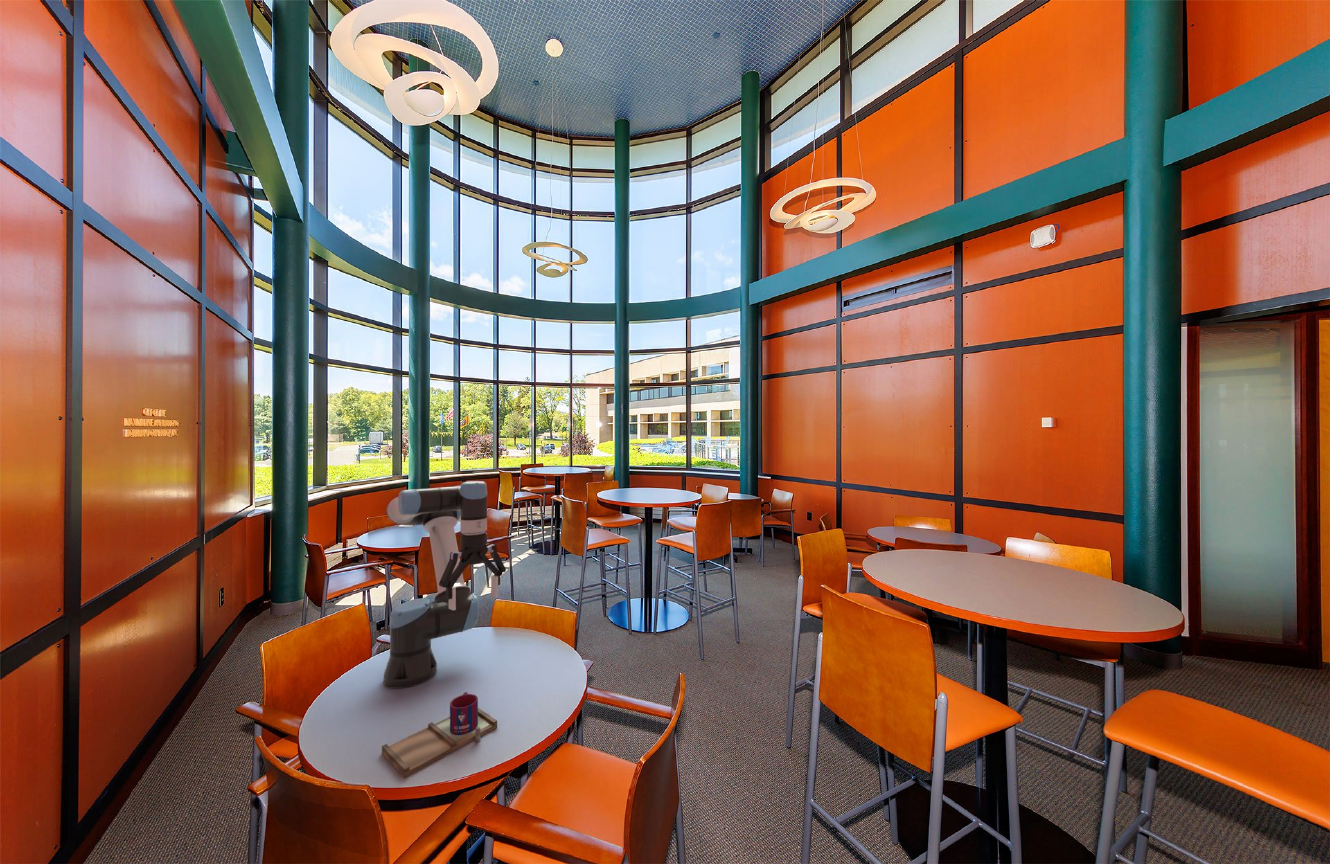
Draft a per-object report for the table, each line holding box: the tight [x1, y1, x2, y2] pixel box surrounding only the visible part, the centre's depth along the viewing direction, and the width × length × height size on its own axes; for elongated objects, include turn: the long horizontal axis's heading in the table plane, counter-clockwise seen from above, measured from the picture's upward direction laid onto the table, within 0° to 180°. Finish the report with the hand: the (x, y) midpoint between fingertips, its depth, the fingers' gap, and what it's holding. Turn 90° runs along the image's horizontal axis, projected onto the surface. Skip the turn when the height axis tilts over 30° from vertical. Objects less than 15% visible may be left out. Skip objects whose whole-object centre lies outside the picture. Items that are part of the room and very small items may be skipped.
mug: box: [449, 691, 479, 735], centre depth 123 cm, size 7×10×7 cm
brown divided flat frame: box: [381, 707, 498, 778], centre depth 117 cm, size 15×23×3 cm, turn 141°
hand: (474, 602), depth 141 cm, fingers open, 13 cm apart
